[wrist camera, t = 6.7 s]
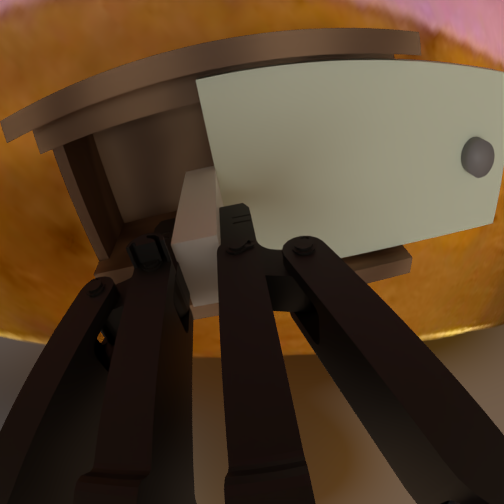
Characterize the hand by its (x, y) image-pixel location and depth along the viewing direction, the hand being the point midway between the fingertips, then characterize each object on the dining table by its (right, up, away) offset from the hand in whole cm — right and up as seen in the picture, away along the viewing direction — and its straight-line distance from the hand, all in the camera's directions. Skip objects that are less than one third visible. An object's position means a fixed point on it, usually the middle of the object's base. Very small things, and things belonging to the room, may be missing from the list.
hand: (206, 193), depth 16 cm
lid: (+10, +3, +1) cm, 10 cm away
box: (0, +5, +7) cm, 9 cm away
